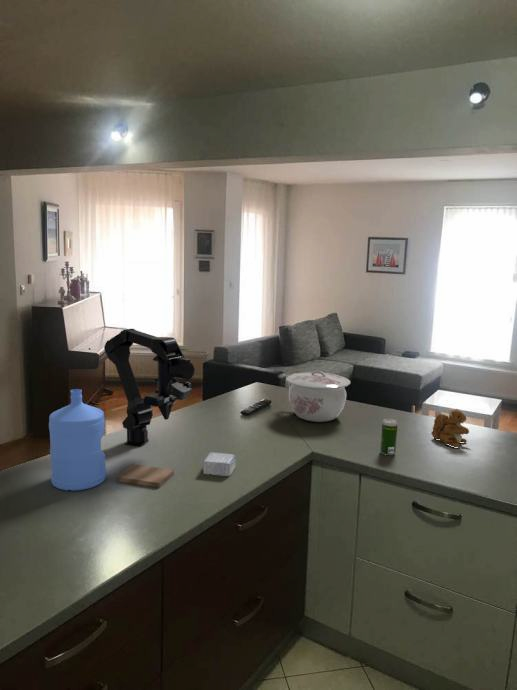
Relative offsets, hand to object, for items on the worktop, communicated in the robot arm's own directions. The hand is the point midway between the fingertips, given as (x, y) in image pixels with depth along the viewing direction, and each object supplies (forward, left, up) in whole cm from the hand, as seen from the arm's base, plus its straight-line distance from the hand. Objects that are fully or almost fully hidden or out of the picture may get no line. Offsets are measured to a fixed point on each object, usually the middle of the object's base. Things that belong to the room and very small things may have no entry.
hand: (166, 419), depth 180 cm
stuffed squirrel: (+96, +45, -12) cm, 107 cm away
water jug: (-15, -29, -12) cm, 35 cm away
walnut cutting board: (+3, -21, -12) cm, 24 cm away
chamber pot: (+43, +58, -12) cm, 73 cm away
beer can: (+74, +25, -12) cm, 79 cm away
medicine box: (+18, -9, -10) cm, 22 cm away
